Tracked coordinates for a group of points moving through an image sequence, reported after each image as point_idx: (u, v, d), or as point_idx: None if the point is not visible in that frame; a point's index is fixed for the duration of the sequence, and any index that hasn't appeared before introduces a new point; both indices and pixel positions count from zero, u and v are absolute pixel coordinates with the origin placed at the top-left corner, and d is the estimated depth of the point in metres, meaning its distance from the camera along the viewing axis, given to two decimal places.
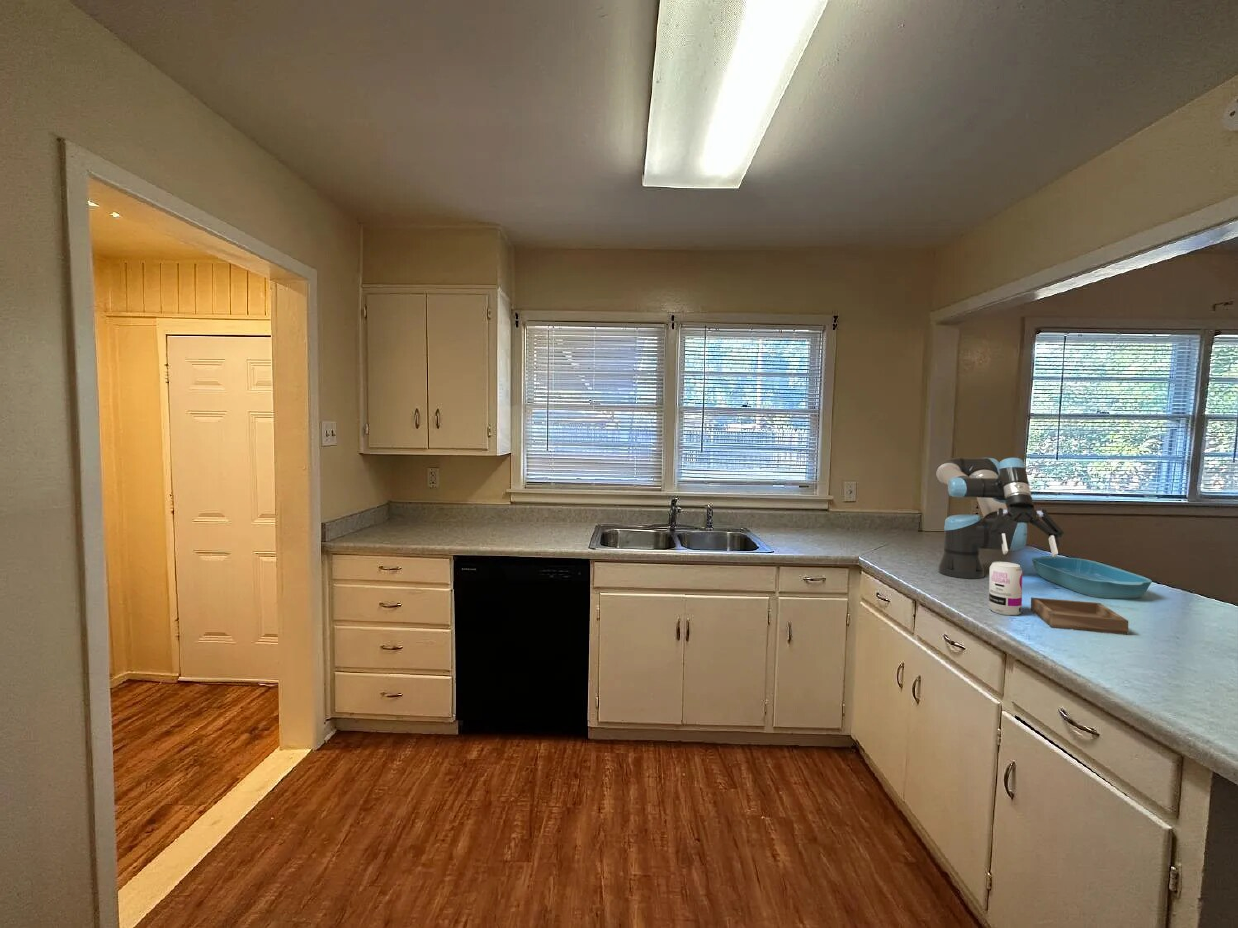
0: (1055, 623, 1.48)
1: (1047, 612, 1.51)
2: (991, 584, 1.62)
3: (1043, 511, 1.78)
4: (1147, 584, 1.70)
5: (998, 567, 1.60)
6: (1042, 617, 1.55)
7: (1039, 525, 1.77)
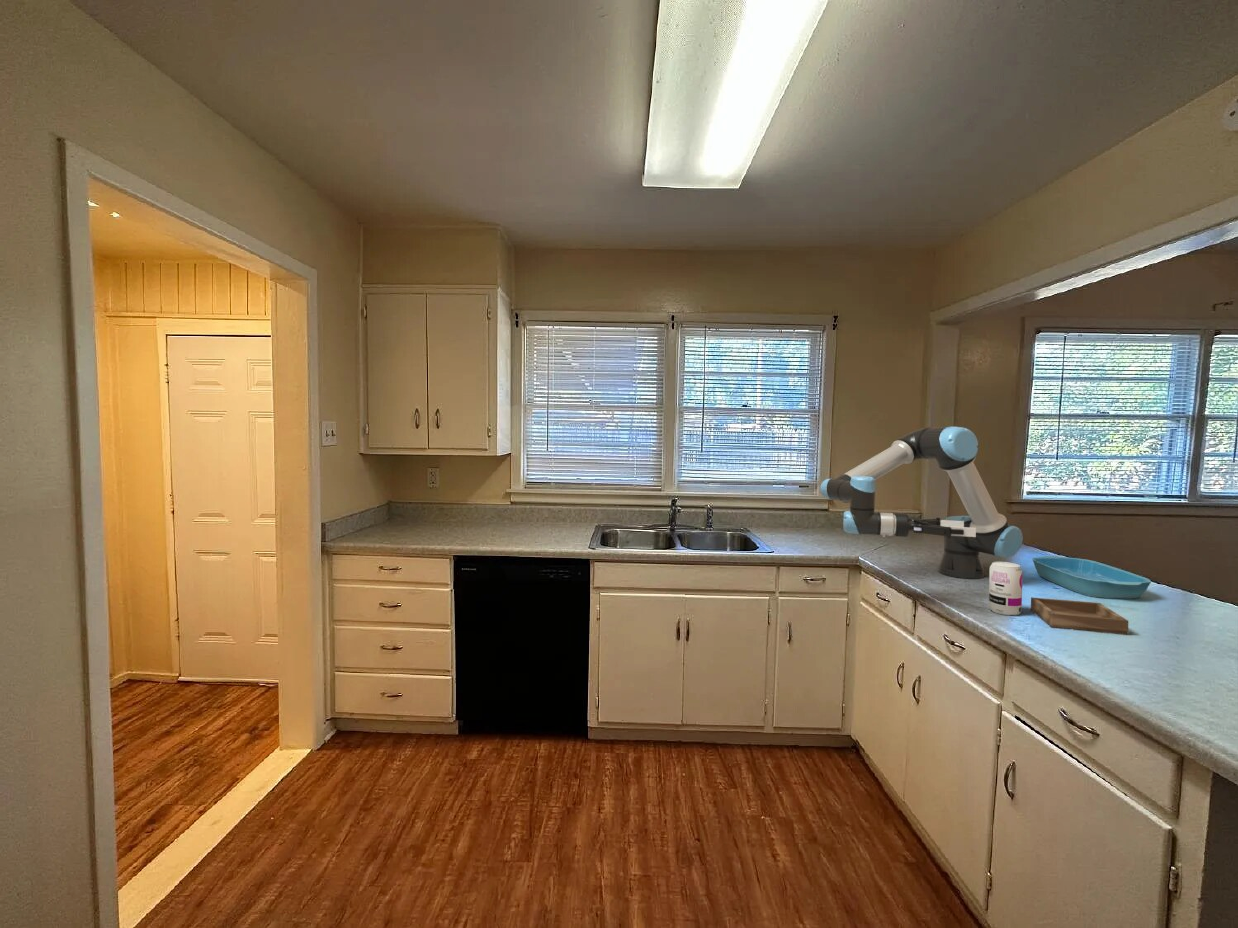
0: (1055, 623, 1.48)
1: (1047, 612, 1.51)
2: (991, 584, 1.62)
3: None
4: (1146, 584, 1.70)
5: (998, 567, 1.60)
6: (1042, 617, 1.55)
7: None
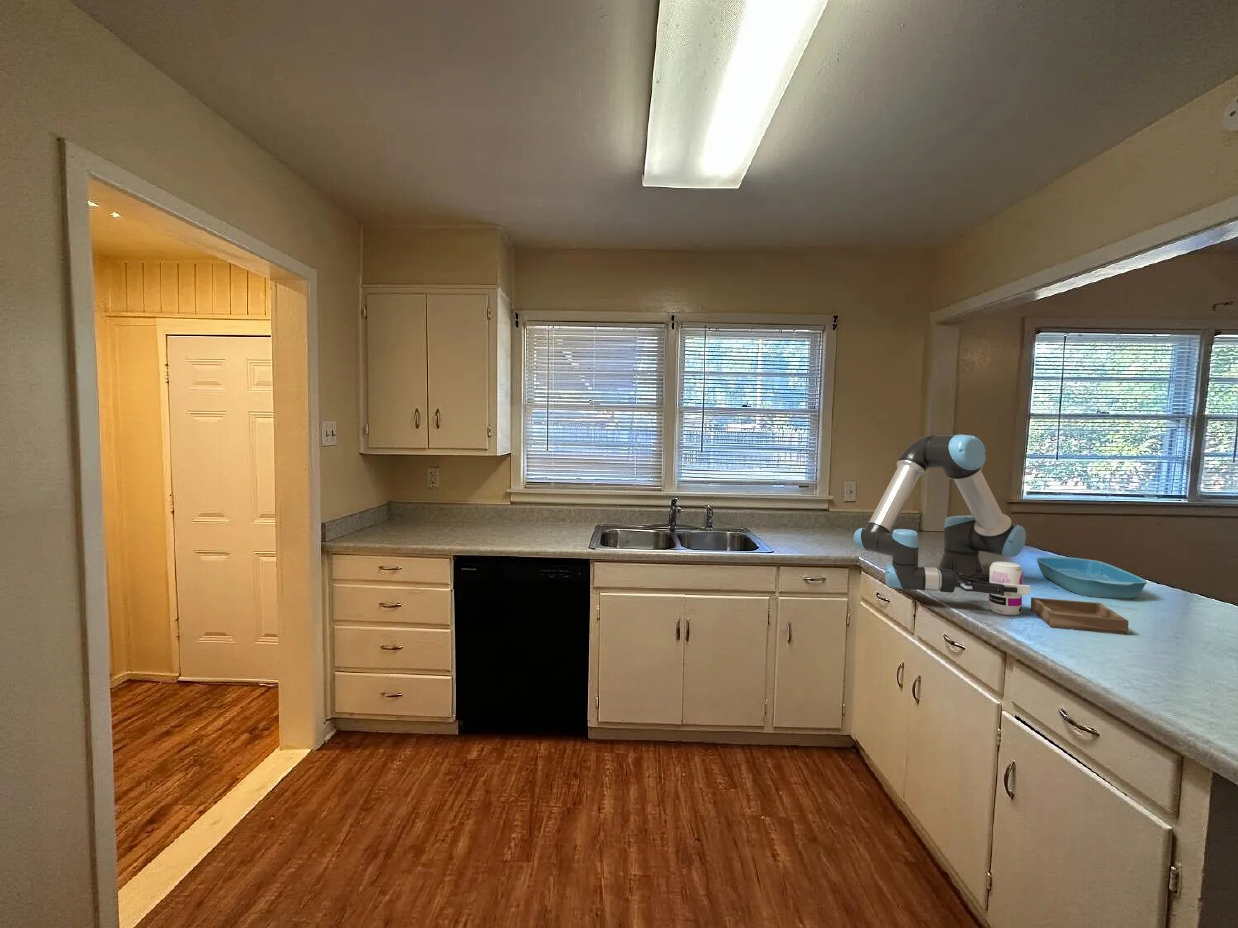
0: (1055, 623, 1.48)
1: (1047, 612, 1.51)
2: None
3: None
4: (1139, 585, 1.70)
5: (998, 567, 1.60)
6: (1042, 617, 1.55)
7: None
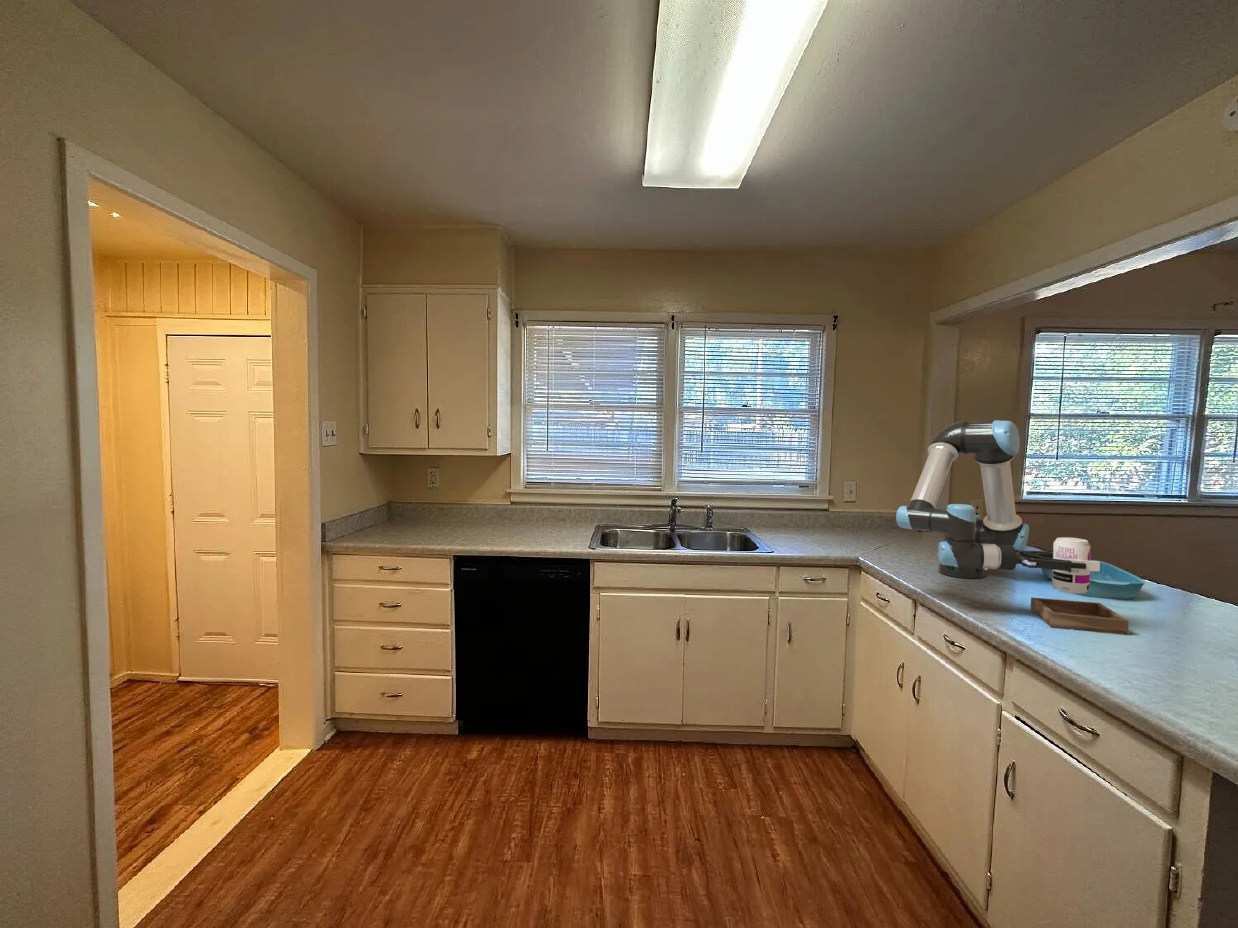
0: (1055, 623, 1.48)
1: (1047, 612, 1.51)
2: None
3: None
4: (1136, 585, 1.70)
5: (1064, 542, 1.51)
6: (1042, 617, 1.55)
7: None
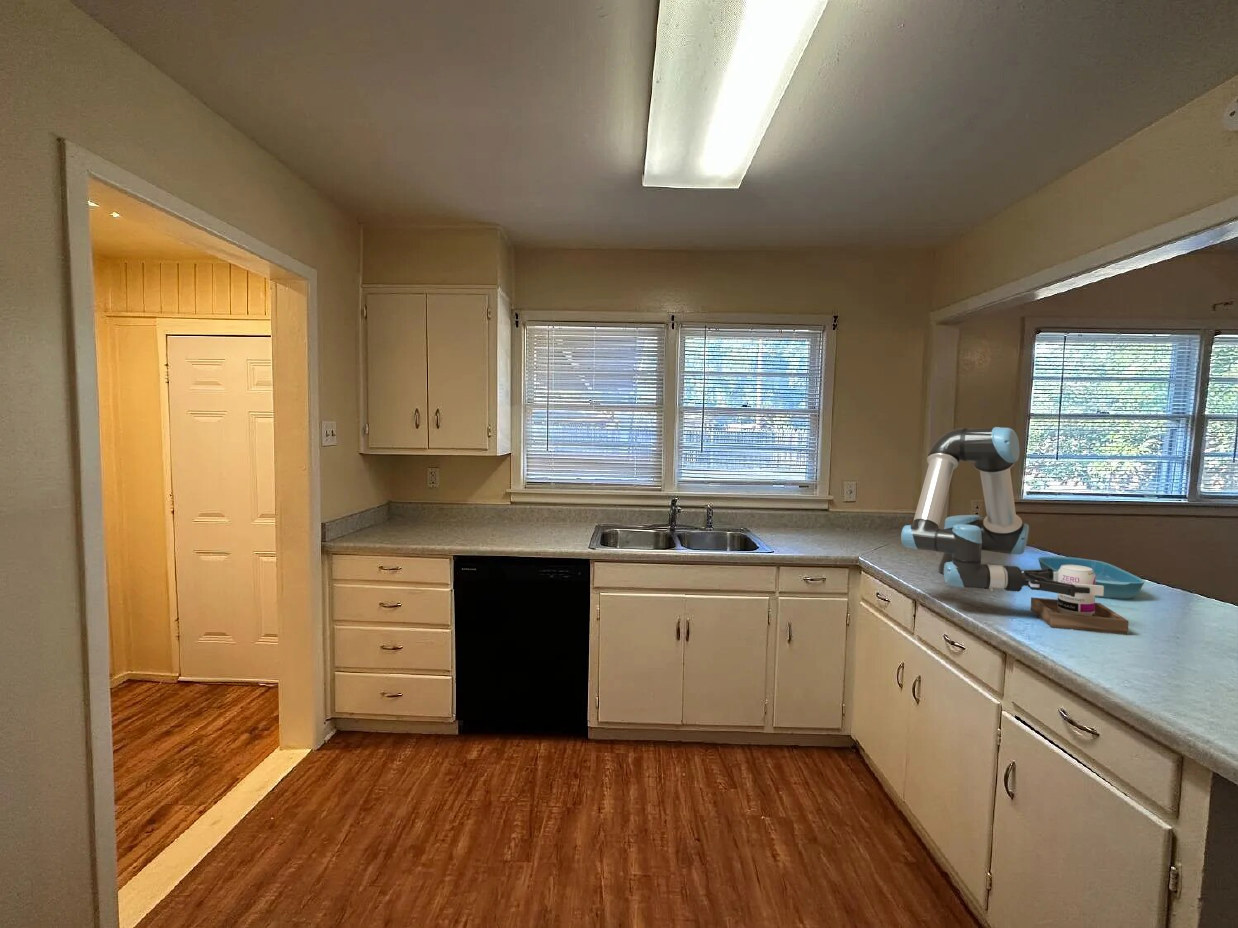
0: (1055, 623, 1.48)
1: (1047, 612, 1.51)
2: None
3: None
4: (1136, 585, 1.70)
5: (1069, 571, 1.51)
6: (1042, 617, 1.55)
7: None
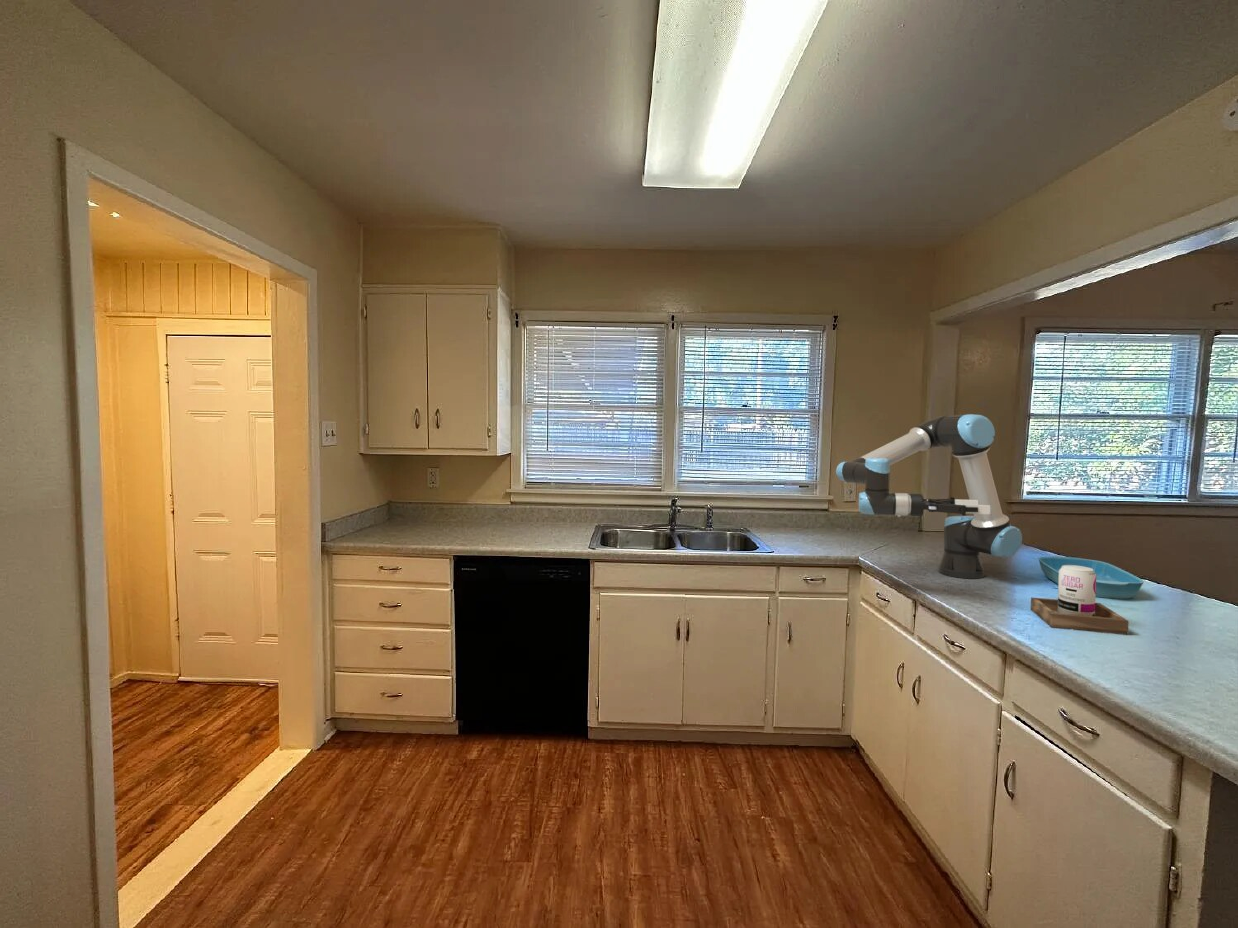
0: (1055, 623, 1.48)
1: (1047, 612, 1.51)
2: (1061, 589, 1.53)
3: None
4: (1135, 585, 1.70)
5: (1069, 571, 1.51)
6: (1042, 617, 1.55)
7: None
